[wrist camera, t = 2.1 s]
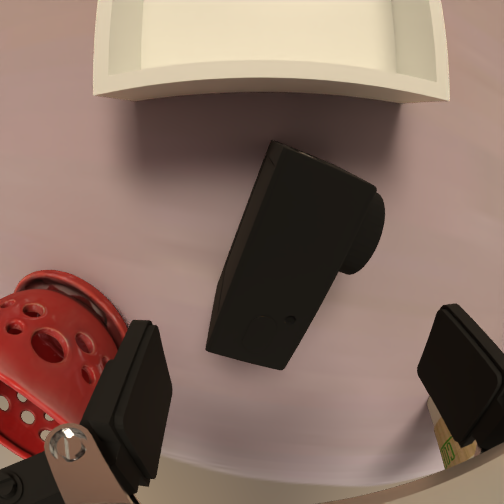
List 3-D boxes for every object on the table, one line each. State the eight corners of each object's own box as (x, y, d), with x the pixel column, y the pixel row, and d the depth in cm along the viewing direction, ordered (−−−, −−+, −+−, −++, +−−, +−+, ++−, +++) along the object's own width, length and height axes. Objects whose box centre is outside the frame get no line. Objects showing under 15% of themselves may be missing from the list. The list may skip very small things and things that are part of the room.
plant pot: (30, 352, 24) (-25, 433, 13) (17, 236, 20) (-84, 312, 9) (143, 397, 26) (112, 503, 15) (160, 285, 21) (97, 421, 10)
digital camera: (289, 308, 22) (302, 378, 16) (216, 286, 21) (204, 354, 15) (352, 172, 18) (402, 199, 12) (271, 139, 18) (284, 146, 11)
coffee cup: (399, 424, 29) (436, 529, 15) (437, 363, 25) (503, 482, 11) (457, 413, 29) (499, 499, 15) (495, 356, 25) (558, 446, 12)
